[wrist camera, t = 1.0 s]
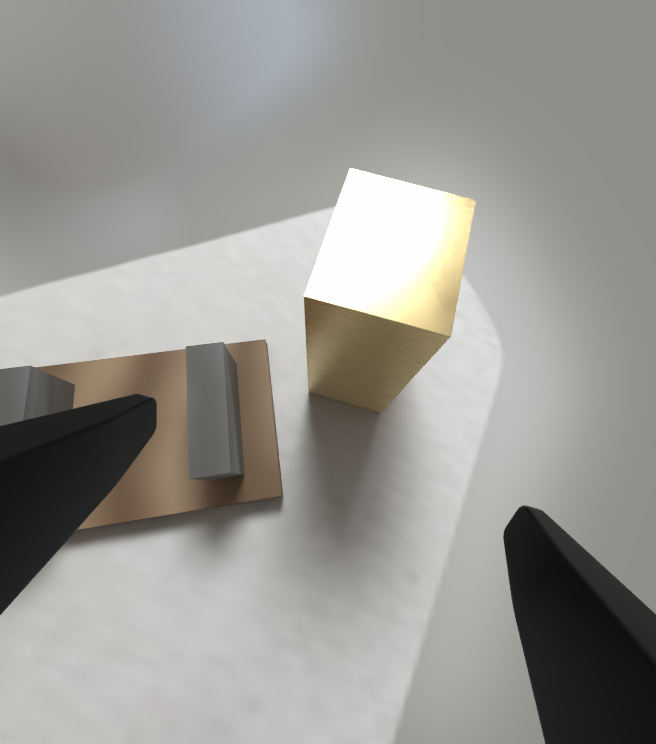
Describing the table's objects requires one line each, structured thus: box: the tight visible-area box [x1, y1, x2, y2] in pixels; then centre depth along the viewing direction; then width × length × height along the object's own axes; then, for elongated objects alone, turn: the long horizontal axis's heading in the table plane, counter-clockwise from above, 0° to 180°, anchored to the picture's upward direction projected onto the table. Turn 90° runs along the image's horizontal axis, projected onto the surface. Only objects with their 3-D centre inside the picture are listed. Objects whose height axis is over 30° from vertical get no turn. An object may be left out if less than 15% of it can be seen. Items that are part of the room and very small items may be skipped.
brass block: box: [304, 169, 476, 413], centre depth 18 cm, size 6×5×12 cm
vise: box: [0, 339, 283, 530], centre depth 19 cm, size 16×10×4 cm, turn 99°
